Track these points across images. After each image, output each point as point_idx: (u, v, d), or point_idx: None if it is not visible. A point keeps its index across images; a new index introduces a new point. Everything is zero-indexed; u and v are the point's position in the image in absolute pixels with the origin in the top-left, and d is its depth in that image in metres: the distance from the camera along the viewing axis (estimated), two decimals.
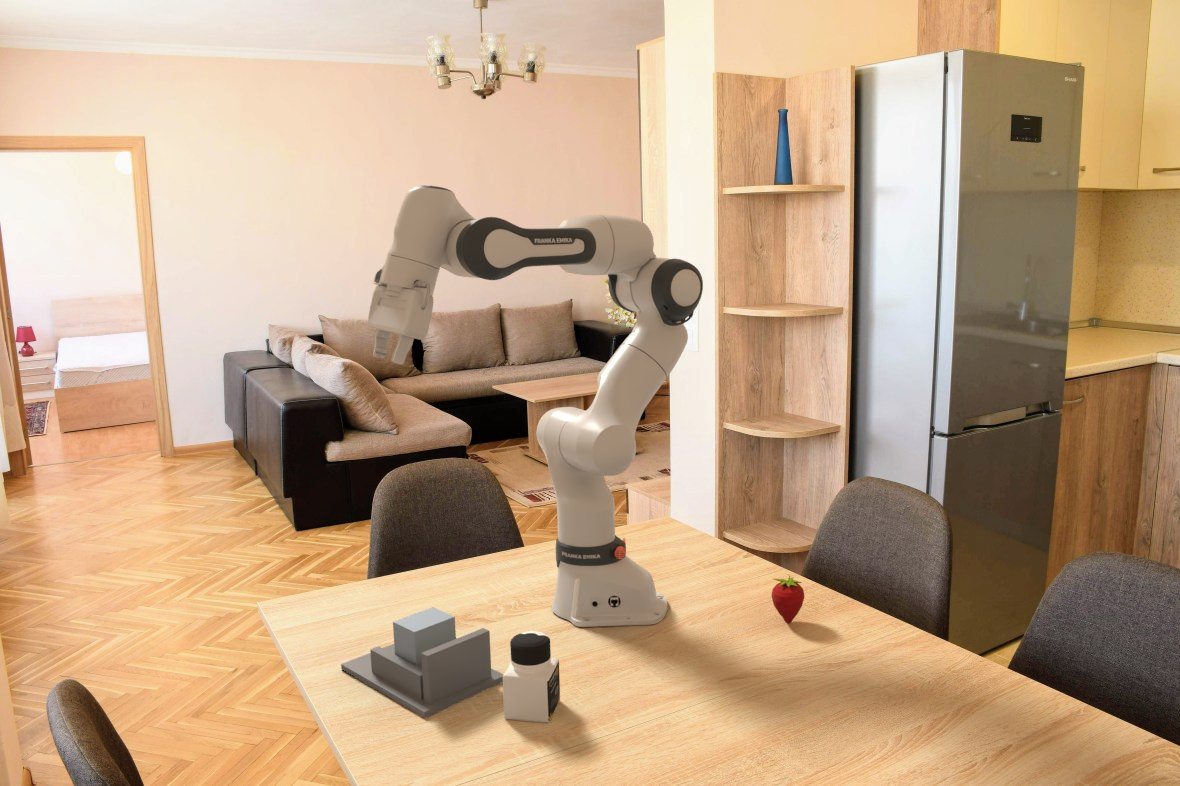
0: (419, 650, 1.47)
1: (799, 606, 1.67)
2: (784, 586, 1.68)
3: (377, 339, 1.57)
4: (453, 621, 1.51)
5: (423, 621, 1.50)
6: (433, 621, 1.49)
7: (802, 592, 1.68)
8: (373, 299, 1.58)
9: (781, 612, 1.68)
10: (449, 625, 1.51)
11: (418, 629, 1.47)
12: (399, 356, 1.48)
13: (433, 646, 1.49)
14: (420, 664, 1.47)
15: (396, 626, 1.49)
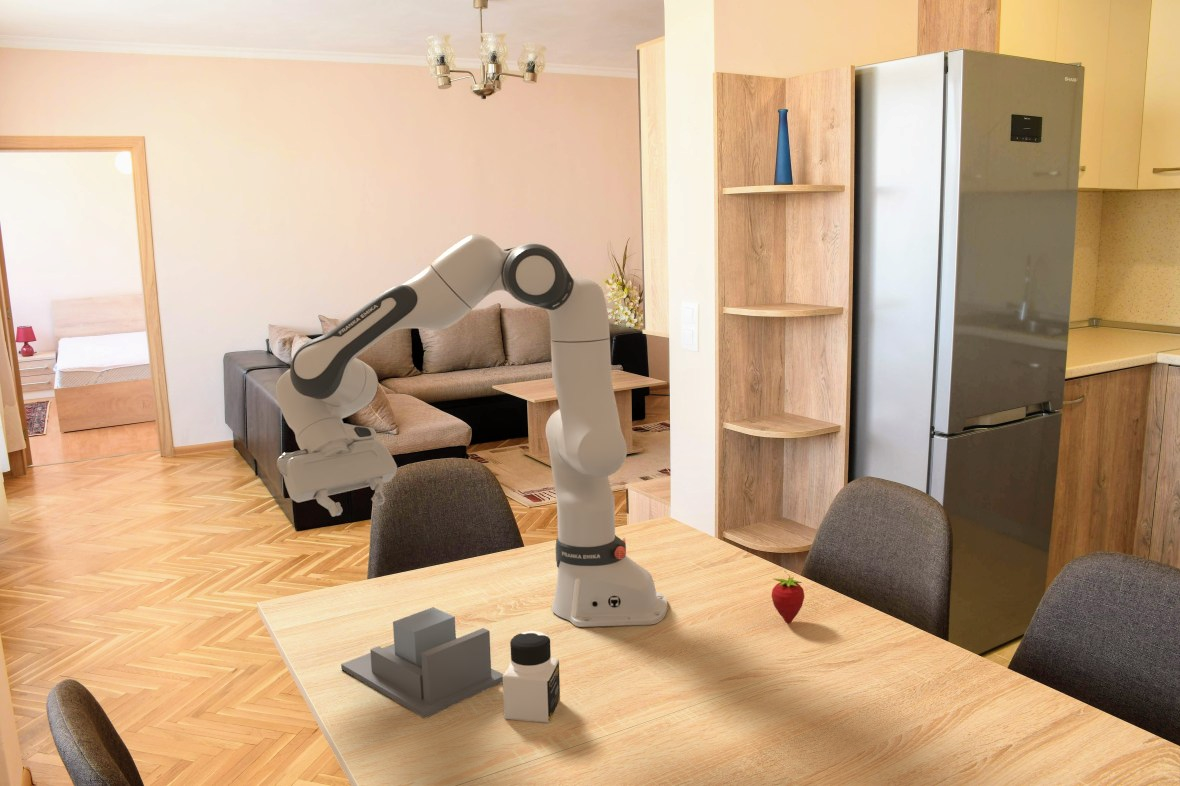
0: (419, 650, 1.47)
1: (799, 606, 1.67)
2: (784, 586, 1.68)
3: (375, 491, 1.65)
4: (453, 621, 1.51)
5: (423, 621, 1.50)
6: (433, 621, 1.49)
7: (802, 592, 1.68)
8: None
9: (781, 612, 1.68)
10: (449, 625, 1.51)
11: (418, 629, 1.47)
12: (330, 509, 1.57)
13: (433, 646, 1.49)
14: (420, 664, 1.47)
15: (396, 626, 1.49)
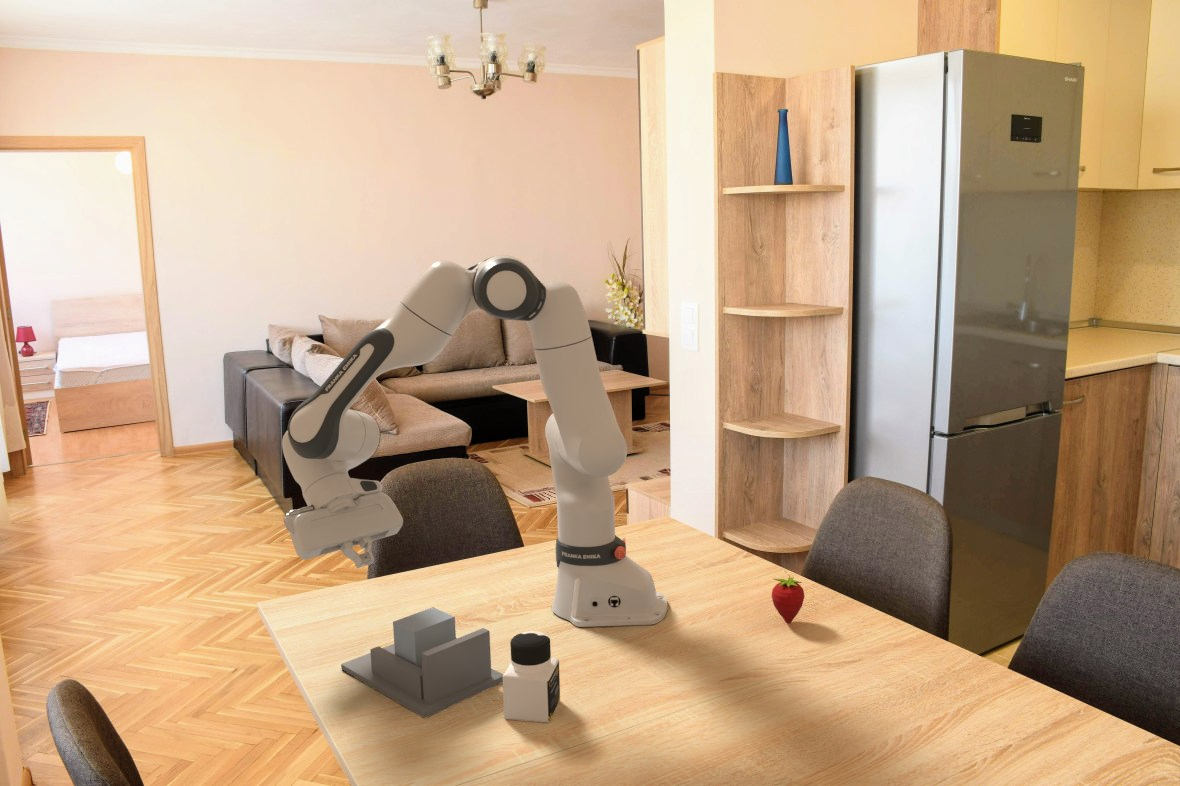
0: (419, 650, 1.47)
1: (799, 606, 1.67)
2: (784, 586, 1.68)
3: (364, 550, 1.64)
4: (453, 621, 1.51)
5: (423, 621, 1.50)
6: (433, 621, 1.49)
7: (802, 592, 1.68)
8: None
9: (781, 612, 1.68)
10: (449, 625, 1.51)
11: (418, 629, 1.47)
12: (355, 561, 1.61)
13: (433, 646, 1.49)
14: (420, 664, 1.47)
15: (396, 626, 1.49)
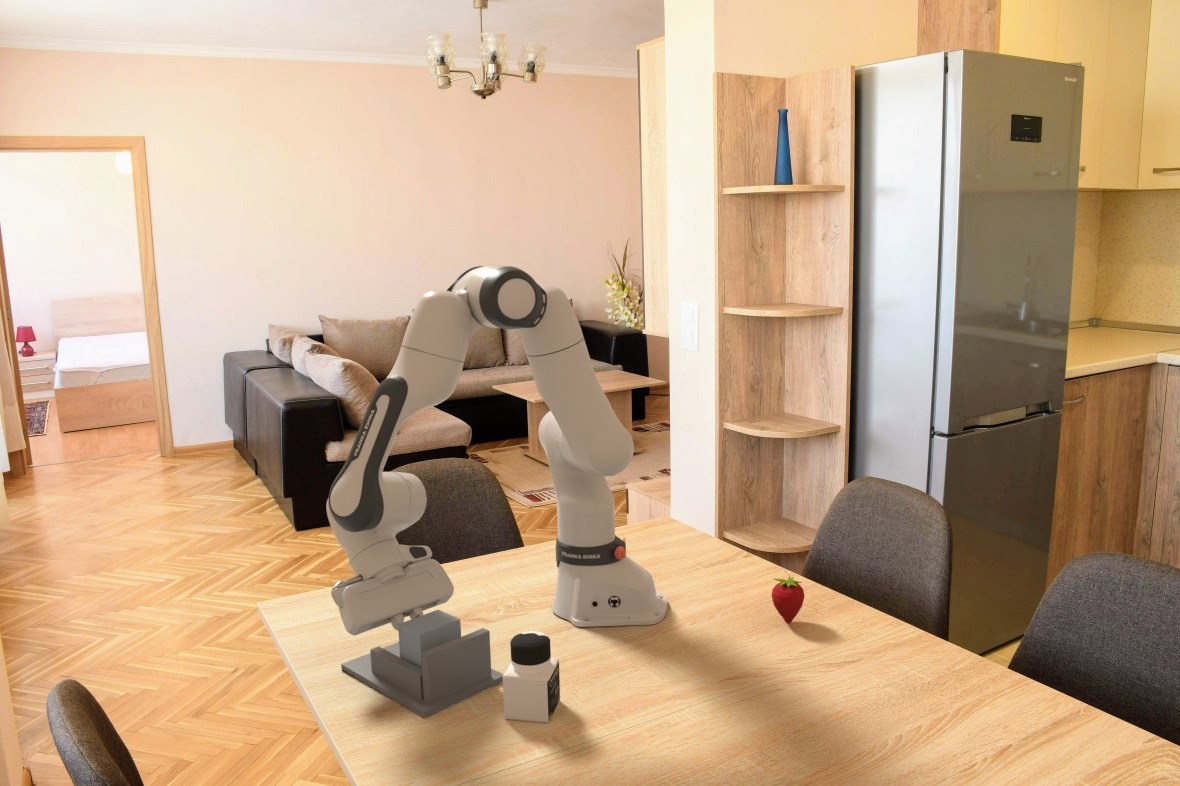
0: None
1: (799, 606, 1.67)
2: (784, 586, 1.68)
3: None
4: (459, 623, 1.50)
5: (428, 623, 1.49)
6: (439, 624, 1.48)
7: (802, 592, 1.68)
8: None
9: (781, 612, 1.68)
10: (455, 628, 1.50)
11: (424, 631, 1.46)
12: None
13: None
14: None
15: (401, 629, 1.48)
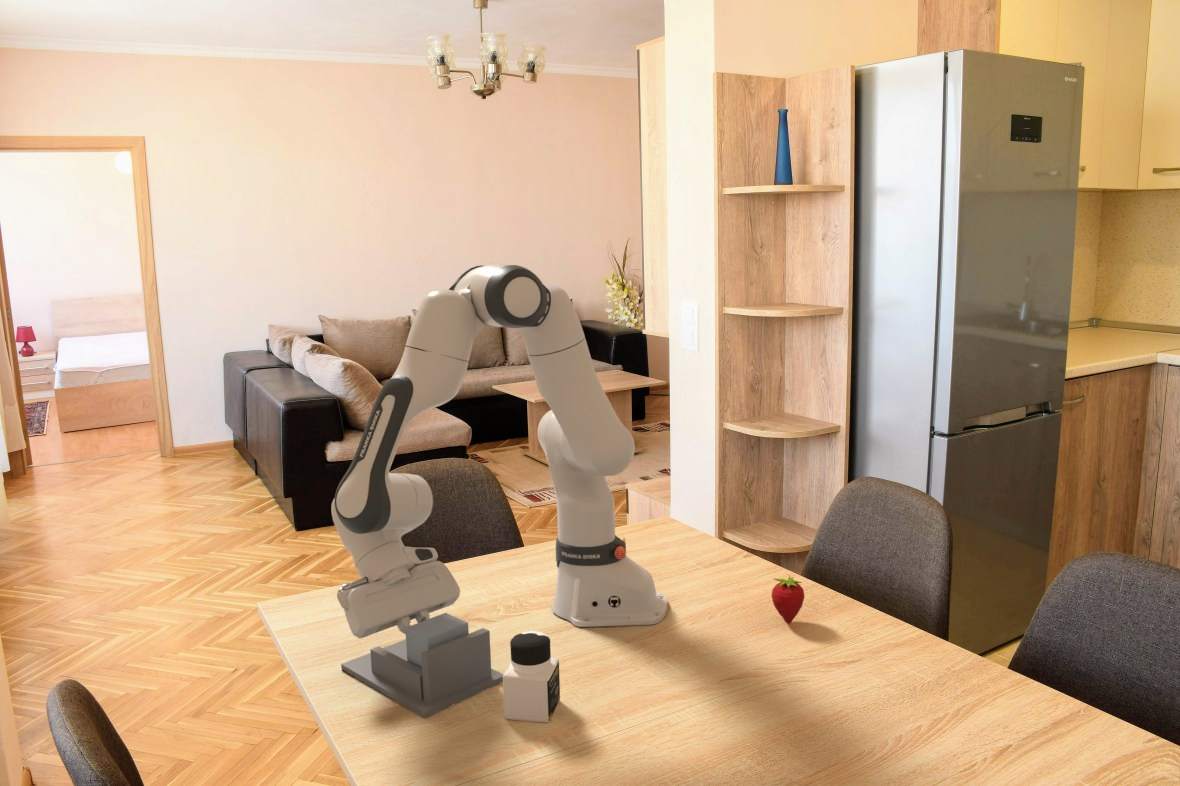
0: None
1: (799, 606, 1.67)
2: (784, 586, 1.68)
3: None
4: (466, 627, 1.49)
5: (436, 627, 1.47)
6: (447, 627, 1.47)
7: (802, 592, 1.68)
8: None
9: (781, 612, 1.68)
10: (462, 631, 1.48)
11: (432, 635, 1.44)
12: None
13: None
14: None
15: (409, 632, 1.47)
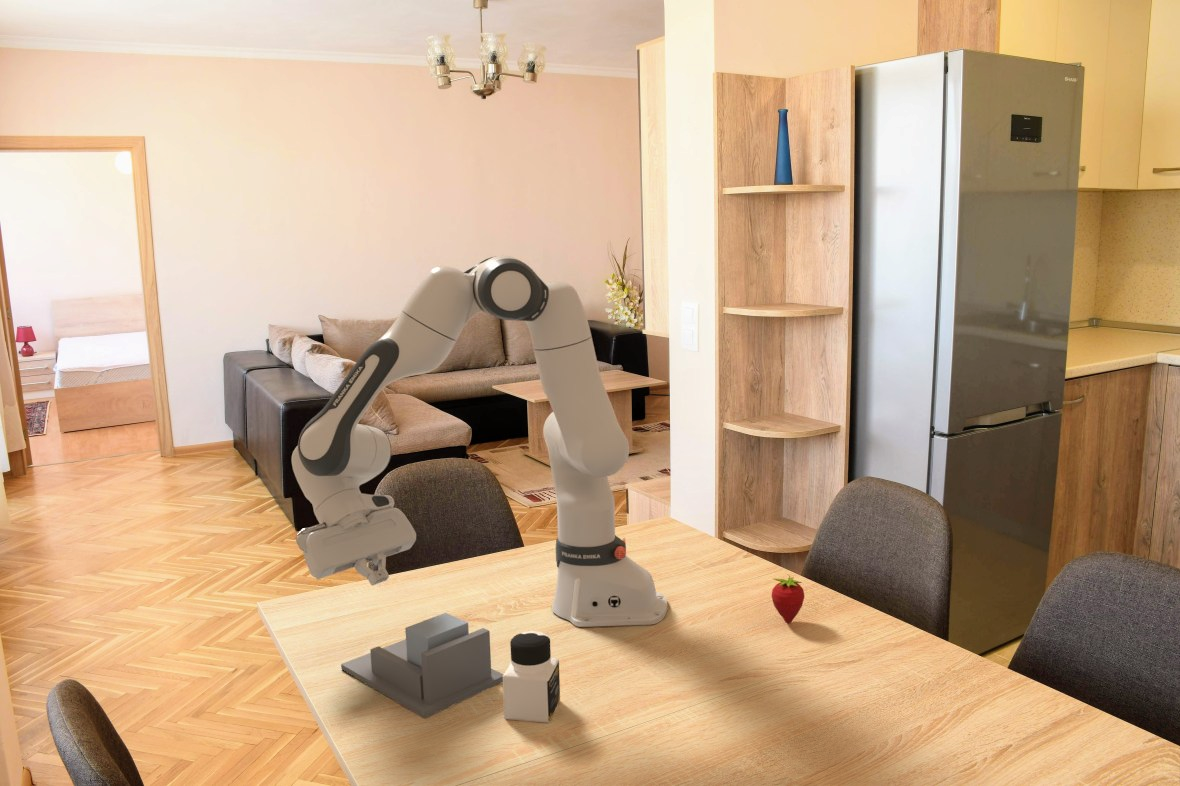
0: None
1: (799, 606, 1.67)
2: (784, 586, 1.68)
3: (378, 566, 1.62)
4: (466, 627, 1.49)
5: (436, 627, 1.47)
6: (447, 627, 1.47)
7: (802, 592, 1.68)
8: None
9: (781, 612, 1.68)
10: (462, 631, 1.48)
11: (432, 635, 1.44)
12: (370, 578, 1.58)
13: None
14: None
15: (409, 632, 1.47)
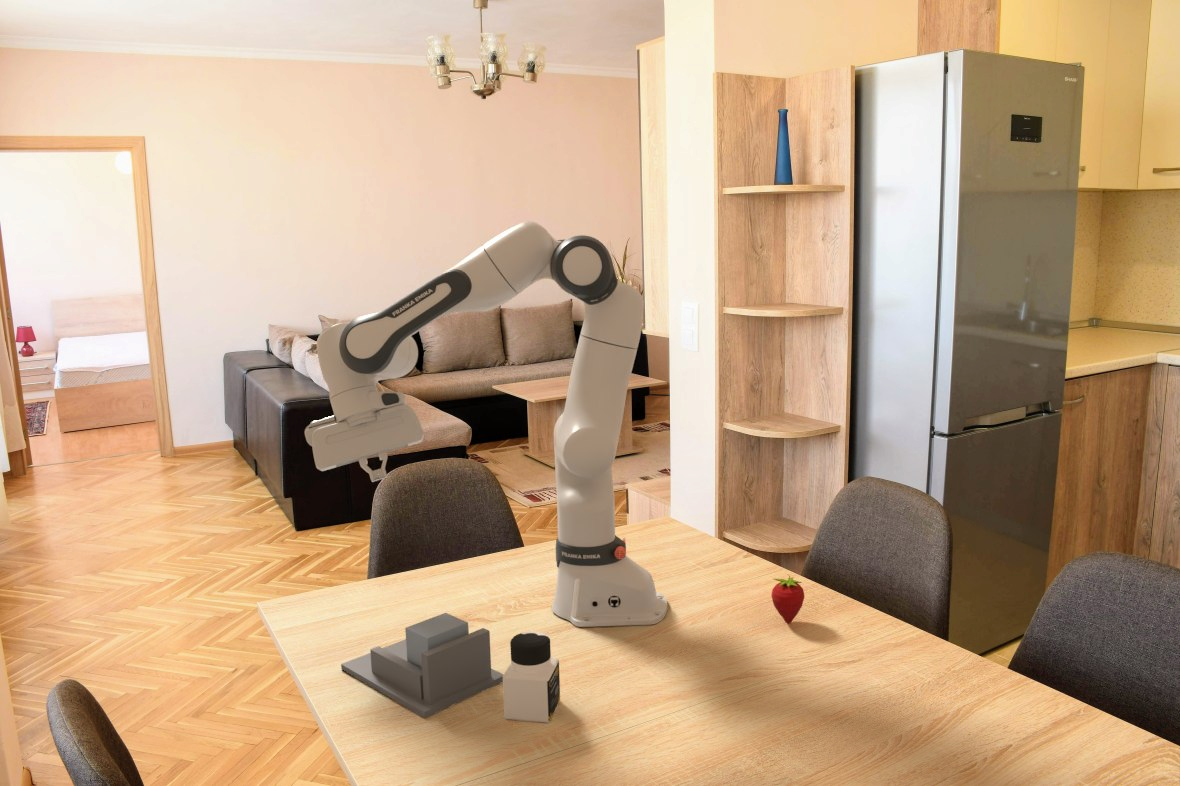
0: None
1: (799, 606, 1.67)
2: (784, 586, 1.68)
3: None
4: (466, 627, 1.49)
5: (436, 627, 1.47)
6: (447, 627, 1.47)
7: (802, 592, 1.68)
8: None
9: (781, 612, 1.68)
10: (462, 631, 1.48)
11: (432, 635, 1.44)
12: None
13: None
14: None
15: (409, 632, 1.47)
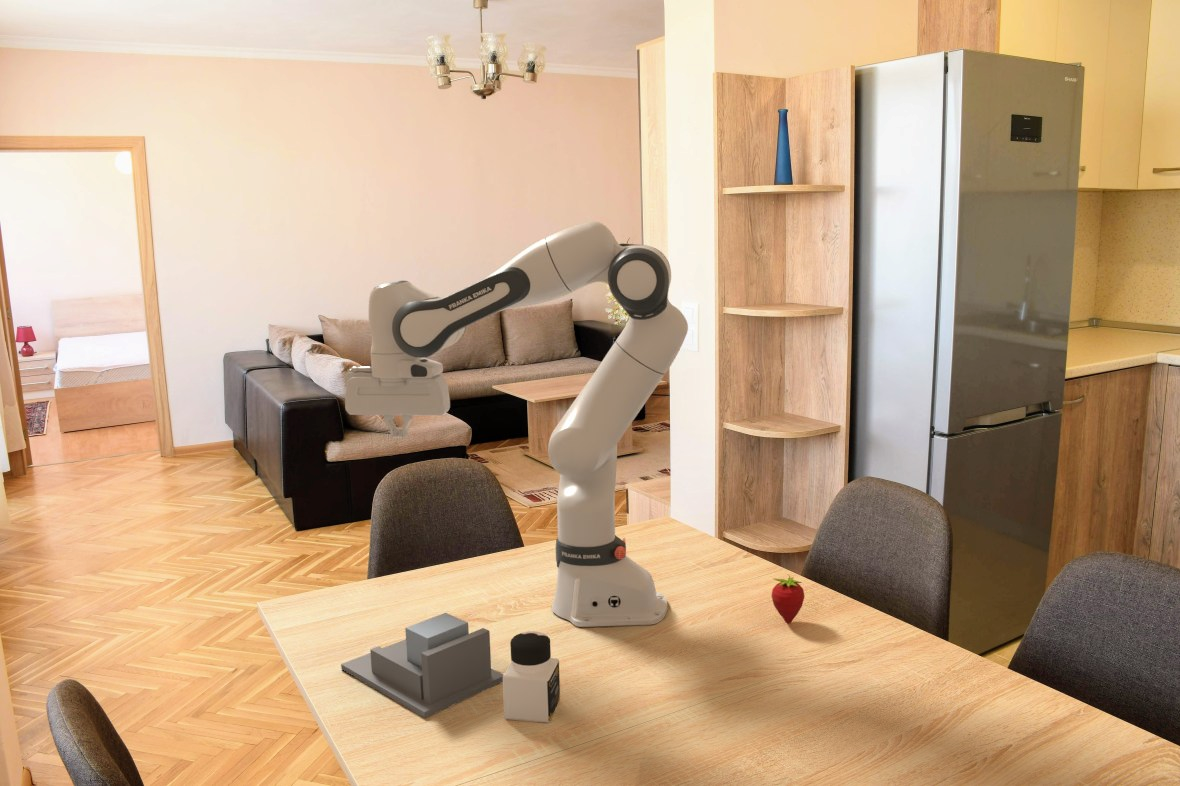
0: None
1: (799, 606, 1.67)
2: (784, 586, 1.68)
3: None
4: (466, 627, 1.49)
5: (436, 627, 1.47)
6: (447, 627, 1.47)
7: (802, 592, 1.68)
8: None
9: (781, 612, 1.68)
10: (462, 631, 1.48)
11: (432, 635, 1.44)
12: None
13: None
14: None
15: (409, 632, 1.47)
